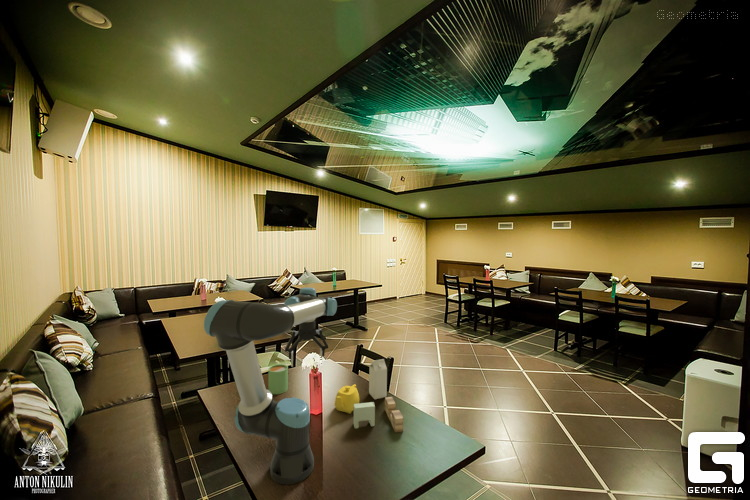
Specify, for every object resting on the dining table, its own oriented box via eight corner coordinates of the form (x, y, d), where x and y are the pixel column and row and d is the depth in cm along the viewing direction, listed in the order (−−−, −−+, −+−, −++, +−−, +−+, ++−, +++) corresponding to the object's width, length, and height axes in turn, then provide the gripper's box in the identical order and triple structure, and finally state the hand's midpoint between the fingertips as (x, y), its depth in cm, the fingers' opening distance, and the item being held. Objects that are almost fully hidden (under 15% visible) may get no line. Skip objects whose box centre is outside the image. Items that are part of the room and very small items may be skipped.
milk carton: (368, 393, 162) (369, 358, 161) (380, 390, 165) (381, 356, 164) (374, 399, 156) (375, 363, 155) (386, 397, 159) (387, 361, 158)
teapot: (347, 422, 136) (347, 398, 136) (326, 416, 141) (327, 393, 140) (364, 402, 153) (365, 382, 152) (345, 397, 157) (346, 377, 157)
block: (374, 426, 134) (374, 406, 133) (354, 428, 132) (354, 408, 131) (372, 421, 137) (373, 401, 137) (353, 423, 135) (353, 404, 135)
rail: (403, 431, 130) (403, 418, 130) (395, 432, 129) (395, 418, 129) (391, 408, 148) (391, 396, 147) (384, 409, 147) (385, 397, 147)
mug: (292, 388, 166) (292, 366, 166) (276, 396, 157) (277, 373, 157) (276, 382, 173) (277, 361, 173) (261, 389, 164) (261, 367, 164)
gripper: (332, 317, 151) (331, 359, 151) (280, 319, 144) (279, 363, 144) (334, 320, 144) (333, 364, 144) (279, 323, 137) (279, 369, 137)
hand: (306, 364), depth 144 cm, fingers open, 13 cm apart
